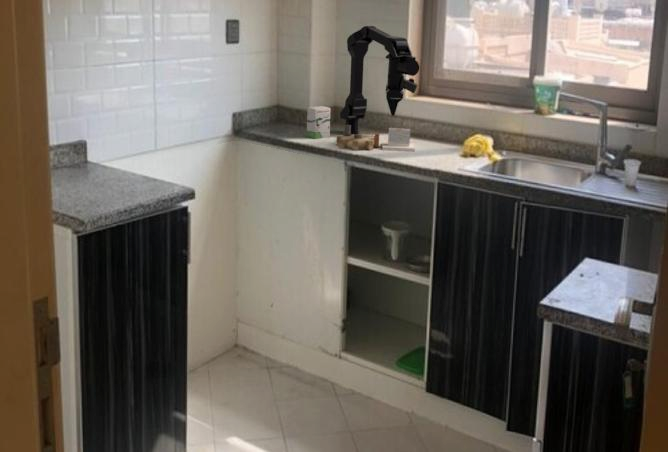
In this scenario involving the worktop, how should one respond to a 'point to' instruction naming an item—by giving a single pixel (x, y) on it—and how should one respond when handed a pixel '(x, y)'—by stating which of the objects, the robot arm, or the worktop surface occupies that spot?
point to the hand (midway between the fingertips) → (392, 113)
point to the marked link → (399, 137)
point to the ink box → (318, 122)
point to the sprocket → (357, 140)
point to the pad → (398, 147)
